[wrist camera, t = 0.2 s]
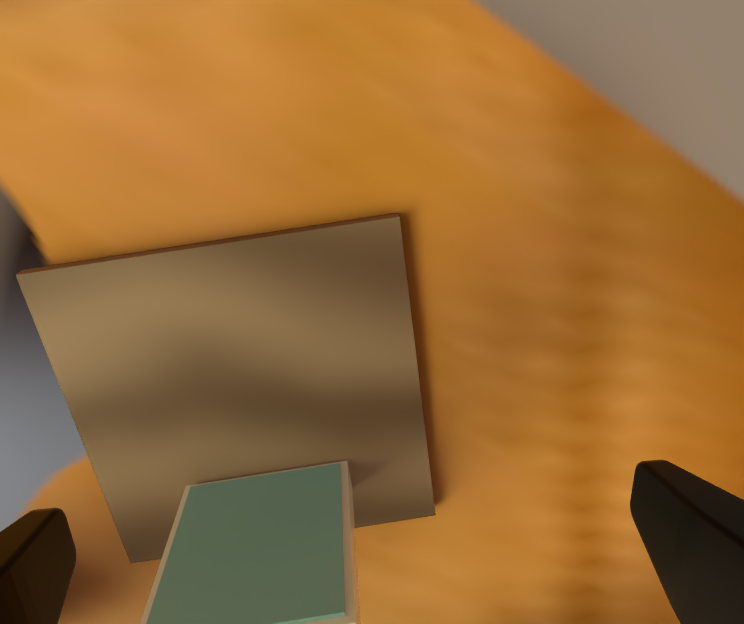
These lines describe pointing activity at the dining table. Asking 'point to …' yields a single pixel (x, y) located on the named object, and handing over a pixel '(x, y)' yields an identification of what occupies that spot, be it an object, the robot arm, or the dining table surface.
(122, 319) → the board
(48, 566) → the robot arm
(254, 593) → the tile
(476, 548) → the dining table surface
